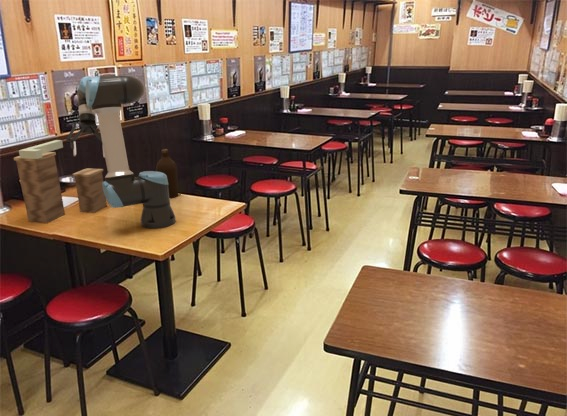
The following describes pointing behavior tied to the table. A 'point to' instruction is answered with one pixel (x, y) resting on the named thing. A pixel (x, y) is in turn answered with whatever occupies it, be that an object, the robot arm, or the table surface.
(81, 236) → the table surface
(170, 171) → the olive oil
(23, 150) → the crook
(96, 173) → the short wooden block stack
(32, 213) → the tall wooden block
